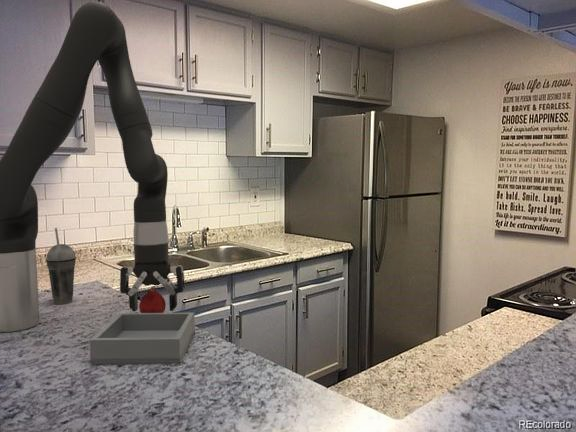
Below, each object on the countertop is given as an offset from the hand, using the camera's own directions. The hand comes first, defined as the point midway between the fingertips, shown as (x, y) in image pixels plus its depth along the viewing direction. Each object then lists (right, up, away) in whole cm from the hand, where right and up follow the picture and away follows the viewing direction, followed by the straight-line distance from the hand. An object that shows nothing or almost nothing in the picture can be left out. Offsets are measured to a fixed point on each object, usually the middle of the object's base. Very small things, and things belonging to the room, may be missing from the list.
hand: (153, 310), depth 108 cm
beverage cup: (-29, -1, +16) cm, 33 cm away
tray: (+3, -4, -16) cm, 17 cm away
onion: (0, -3, 0) cm, 3 cm away
